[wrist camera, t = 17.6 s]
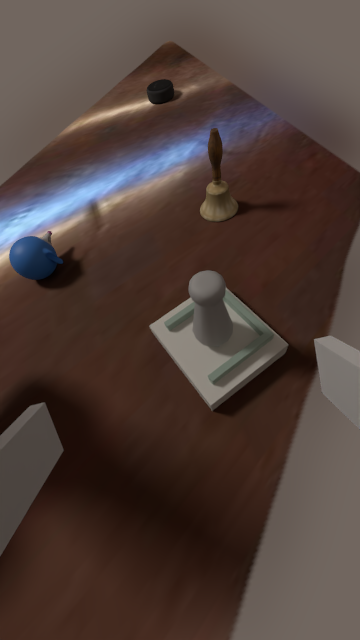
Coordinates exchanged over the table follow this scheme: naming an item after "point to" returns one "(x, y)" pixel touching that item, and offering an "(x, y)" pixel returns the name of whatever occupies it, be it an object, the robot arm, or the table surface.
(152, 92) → the smart speaker
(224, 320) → the salt shaker
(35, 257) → the blue rounded piece
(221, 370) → the dock
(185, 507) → the table surface
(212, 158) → the hand bell
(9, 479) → the robot arm
